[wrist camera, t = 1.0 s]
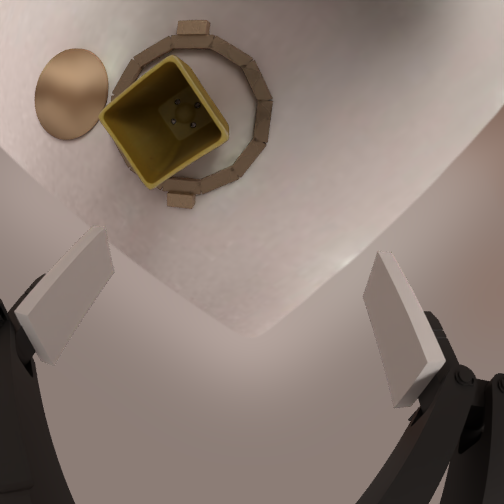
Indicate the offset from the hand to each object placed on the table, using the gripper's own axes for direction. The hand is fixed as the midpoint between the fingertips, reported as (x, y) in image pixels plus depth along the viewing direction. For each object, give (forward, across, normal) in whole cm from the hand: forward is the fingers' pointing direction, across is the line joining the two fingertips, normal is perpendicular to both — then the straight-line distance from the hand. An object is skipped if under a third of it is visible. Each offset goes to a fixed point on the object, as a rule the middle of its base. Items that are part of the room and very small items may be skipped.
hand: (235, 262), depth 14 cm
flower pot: (+21, -8, +4) cm, 23 cm away
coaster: (+21, -24, +8) cm, 33 cm away
